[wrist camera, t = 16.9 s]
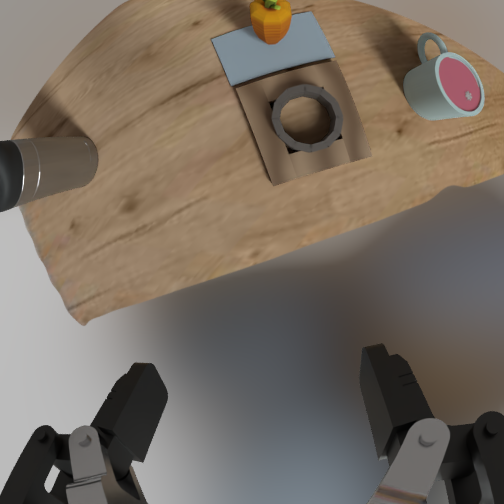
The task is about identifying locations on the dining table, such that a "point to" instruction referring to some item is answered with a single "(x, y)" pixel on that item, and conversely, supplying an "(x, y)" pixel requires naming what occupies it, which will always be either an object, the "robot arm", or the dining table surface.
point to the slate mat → (271, 49)
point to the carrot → (270, 19)
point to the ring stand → (274, 138)
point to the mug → (443, 85)
